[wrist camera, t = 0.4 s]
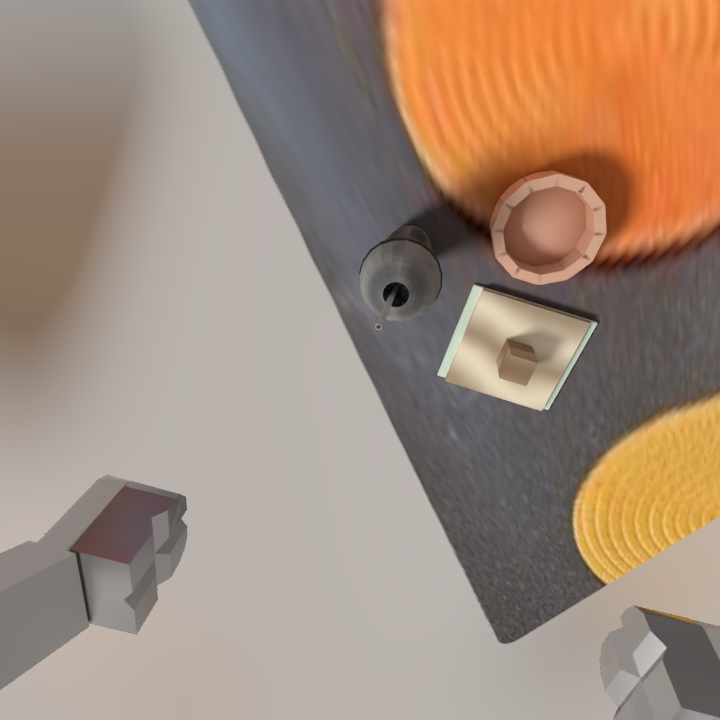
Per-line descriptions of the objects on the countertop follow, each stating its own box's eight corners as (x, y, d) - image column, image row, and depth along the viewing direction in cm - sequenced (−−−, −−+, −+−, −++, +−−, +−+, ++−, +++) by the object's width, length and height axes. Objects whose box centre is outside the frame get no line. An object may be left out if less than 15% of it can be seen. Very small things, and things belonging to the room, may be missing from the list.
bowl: (513, 157, 46) (519, 161, 42) (613, 188, 46) (627, 194, 42) (475, 255, 51) (477, 266, 47) (565, 283, 50) (574, 296, 47)
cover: (482, 287, 52) (485, 303, 48) (588, 320, 52) (601, 339, 47) (445, 377, 58) (445, 398, 53) (540, 407, 57) (547, 431, 53)
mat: (473, 283, 52) (474, 285, 52) (596, 321, 52) (597, 323, 51) (437, 373, 58) (437, 375, 58) (547, 408, 58) (548, 409, 57)
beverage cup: (457, 246, 51) (463, 319, 33) (408, 291, 54) (389, 379, 36) (410, 196, 49) (389, 244, 32) (362, 245, 52) (319, 314, 35)
